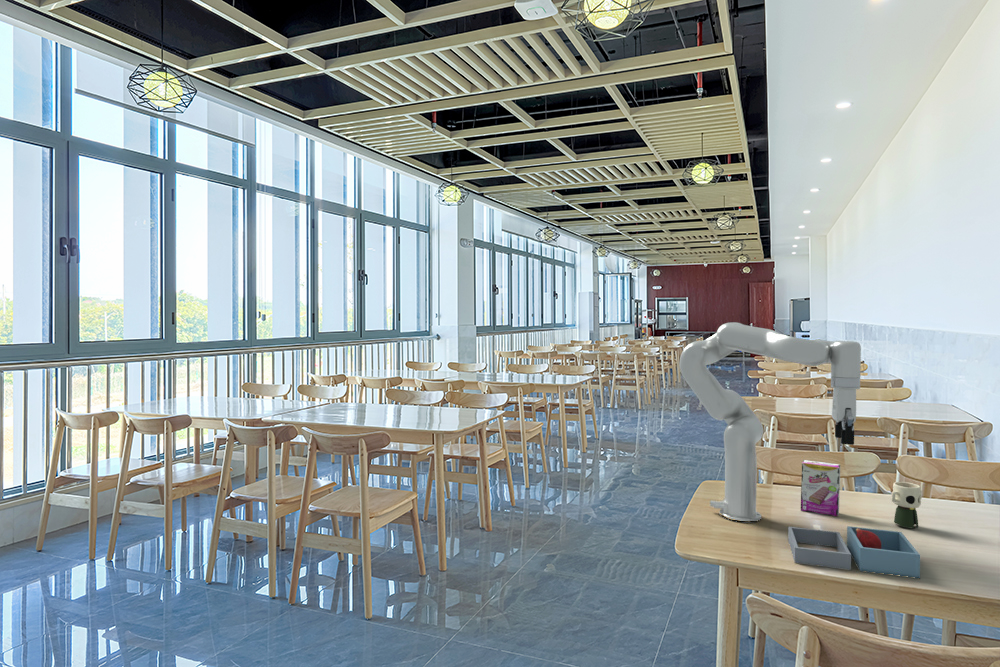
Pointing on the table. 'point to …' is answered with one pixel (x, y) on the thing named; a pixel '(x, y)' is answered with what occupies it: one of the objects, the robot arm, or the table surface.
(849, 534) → the blue bin
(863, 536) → the onion
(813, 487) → the candy bar box
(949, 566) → the table surface
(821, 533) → the grey crate
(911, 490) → the character mug
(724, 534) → the table surface
